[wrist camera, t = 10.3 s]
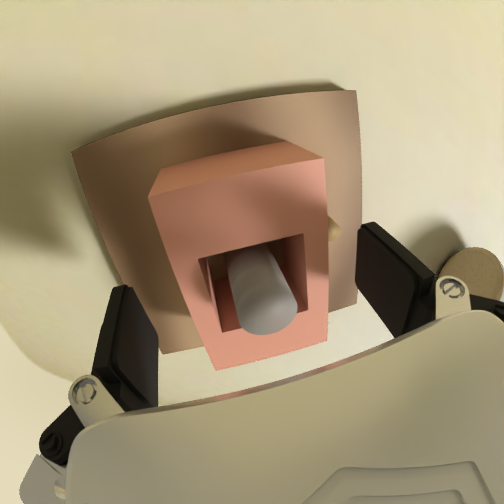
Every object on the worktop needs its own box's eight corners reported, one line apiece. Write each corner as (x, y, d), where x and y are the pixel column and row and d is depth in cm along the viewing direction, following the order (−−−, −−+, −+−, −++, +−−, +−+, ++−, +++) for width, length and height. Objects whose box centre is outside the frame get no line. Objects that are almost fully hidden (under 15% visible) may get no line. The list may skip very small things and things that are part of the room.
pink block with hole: (160, 168, 12) (147, 196, 9) (287, 140, 12) (323, 158, 9) (208, 318, 17) (215, 370, 14) (302, 294, 17) (327, 340, 14)
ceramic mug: (465, 226, 19) (525, 275, 13) (482, 264, 23) (526, 306, 16) (391, 314, 23) (435, 378, 16) (422, 334, 26) (457, 383, 20)
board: (163, 343, 19) (162, 424, 13) (78, 147, 11) (7, 188, 6) (350, 295, 20) (394, 359, 14) (346, 90, 12) (434, 97, 7)
